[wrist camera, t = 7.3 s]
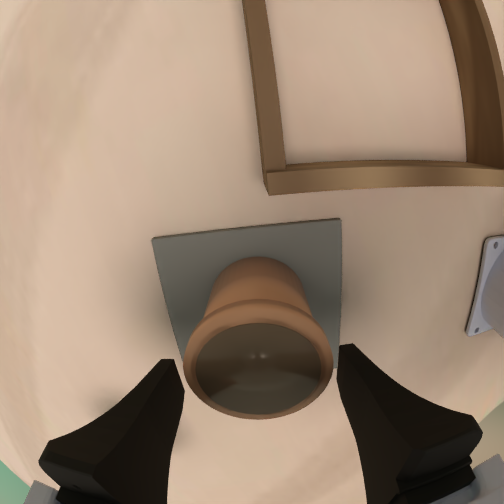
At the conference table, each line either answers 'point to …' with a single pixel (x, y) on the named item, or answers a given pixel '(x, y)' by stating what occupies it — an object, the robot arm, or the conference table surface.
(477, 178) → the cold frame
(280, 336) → the pot
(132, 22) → the conference table surface
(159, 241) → the mat
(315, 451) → the conference table surface
